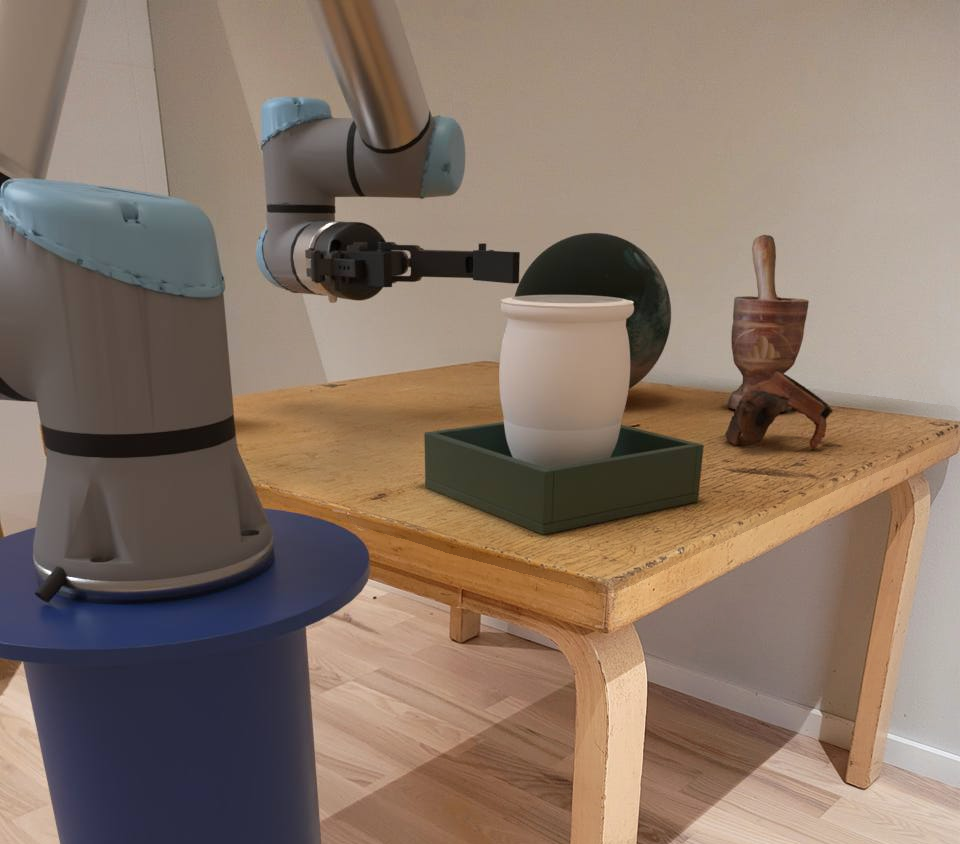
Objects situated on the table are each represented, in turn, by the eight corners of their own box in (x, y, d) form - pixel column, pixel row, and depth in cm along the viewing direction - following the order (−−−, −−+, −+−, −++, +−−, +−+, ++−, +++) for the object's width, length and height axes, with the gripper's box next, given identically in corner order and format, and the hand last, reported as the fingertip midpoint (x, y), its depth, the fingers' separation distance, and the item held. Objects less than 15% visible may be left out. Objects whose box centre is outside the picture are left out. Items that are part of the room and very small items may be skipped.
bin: (543, 535, 71) (545, 471, 69) (424, 487, 84) (423, 432, 82) (698, 501, 80) (704, 444, 78) (570, 462, 92) (572, 412, 91)
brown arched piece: (736, 434, 108) (783, 370, 104) (801, 484, 104) (852, 420, 100) (694, 422, 98) (745, 351, 94) (765, 477, 94) (820, 406, 91)
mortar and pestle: (696, 400, 125) (713, 234, 117) (753, 397, 127) (773, 234, 119) (747, 416, 115) (769, 236, 107) (808, 413, 117) (833, 236, 109)
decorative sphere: (679, 413, 116) (696, 235, 108) (515, 413, 115) (519, 233, 107) (646, 387, 134) (659, 232, 126) (504, 386, 134) (507, 231, 126)
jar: (479, 493, 79) (481, 301, 73) (519, 465, 88) (524, 292, 82) (605, 506, 76) (618, 306, 69) (634, 476, 84) (647, 296, 78)
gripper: (443, 295, 109) (562, 308, 93) (233, 302, 96) (329, 319, 80) (442, 223, 106) (565, 224, 90) (226, 220, 93) (324, 221, 77)
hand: (455, 269), depth 85 cm, fingers open, 13 cm apart
